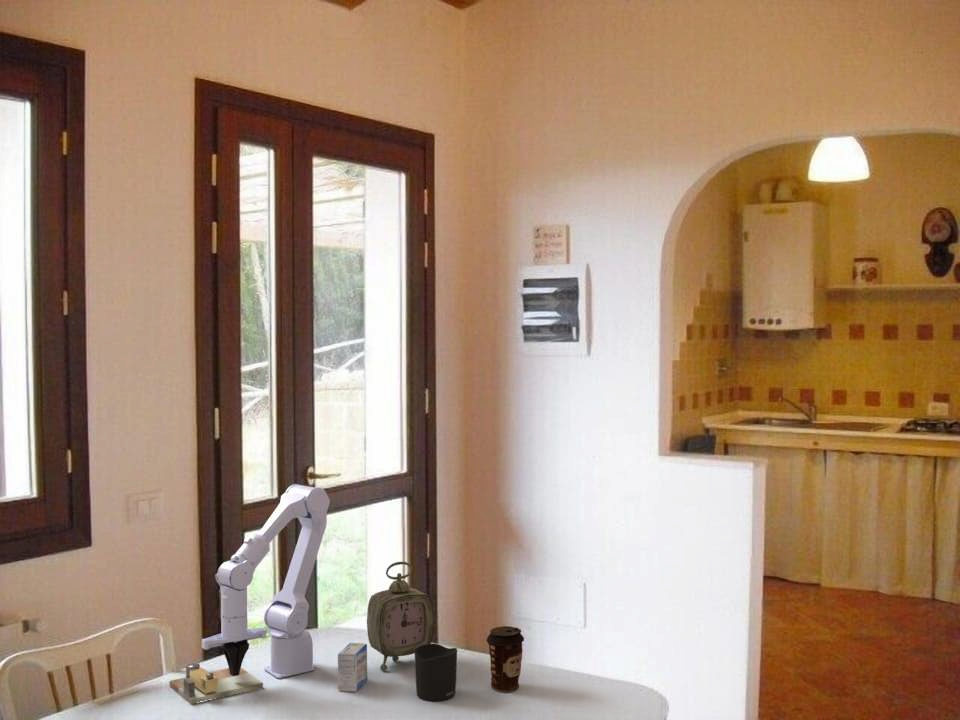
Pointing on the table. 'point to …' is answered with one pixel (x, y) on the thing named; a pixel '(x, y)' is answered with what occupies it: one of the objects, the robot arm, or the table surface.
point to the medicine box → (352, 667)
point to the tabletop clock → (399, 619)
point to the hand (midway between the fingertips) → (234, 674)
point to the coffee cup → (505, 657)
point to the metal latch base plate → (225, 686)
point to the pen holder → (435, 672)
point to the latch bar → (202, 678)
